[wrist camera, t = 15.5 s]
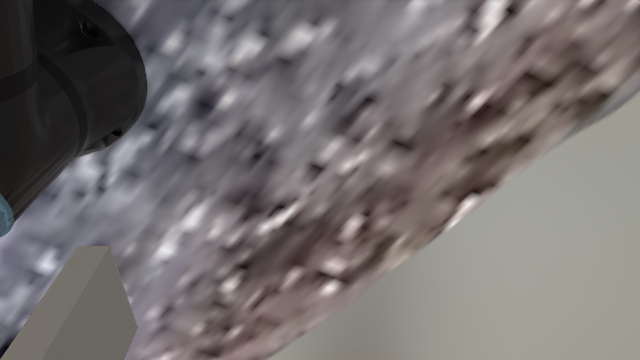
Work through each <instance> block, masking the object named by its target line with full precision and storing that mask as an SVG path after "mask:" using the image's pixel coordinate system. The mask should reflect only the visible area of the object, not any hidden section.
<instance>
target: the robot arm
mask: <svg viewBox="0 0 640 360" xmlns="http://www.w3.org/2000/svg"><path fill="white" fill-rule="evenodd" d="M146 91H147V84H146V75H145V70H144V66H143V63H142V60H141V57H140V55H139V53H138V50H137V48H136V47H135V45H134V43H133V41H132V40H131V38H130V37H129V35H128V34H127V33H126V31H125V30H124V29H123V28H122V26H121V25H120V24H119V23H118V22H117V21H116V20H115V19H114V18H113V17H112V16H111V15H110V14H108V13H107V12H106V11H105V10H103V9H102V8H101V7H99V6H98V5H96V4H95V3H93V2H92V1H90V0H0V237H2V236H4V235H6V234H7V233H8V232H9V231H10V230H11V228H12V226H13V225H14V224H13V223H14V222H15V221H16V220H17V219H18V218H19V217H20V216H21V215H22V213H23V212H24V211H25V210H26V209H27V208H28V207H29V206H30V205H31V204H32V203H33V202H34V201H35V200H36V198H37V197H38V196H39V195H40V194H41V193H42V192H43V191H44V190H45V189H46V188H47V187H48V186H49V185H50V184H51V183H52V182H53V181H54V180H55V179H56V177H57V176H58V175H59V174H60V173H61V172H62V171H63V170H64V169H65V168H66V167H67V166H68V165H69V164H70V163H71V162H72V161H73V159H75V158H78V157H81V156H84V155H87V154H90V153H92V152H95V151H98V150H101V149H104V148H106V147H108V146H110V145H112V144H113V143H115V142H116V141H118V140H119V139H120V138H122V137H123V136H124V135H125V134H126V133H127V131H128V130H129V129H130V128H131V127H132V126H133V125H134V123H135V122H136V121H137V119H138V118H139V116H140V114H141V112H142V110H143V107H144V104H145V99H146ZM137 328H138V327H137V324H136V321H135V318H134V315H133V312H132V309H131V306H130V303H129V300H128V298H127V295H126V292H125V289H124V286H123V283H122V280H121V277H120V274H119V271H118V268H117V265H116V263H115V260H114V257H113V254H112V251H111V248H110V246H78V247H77V249H76V250H75V251H74V253H73V254H72V256H71V257H70V259H69V260H68V262H67V263H66V265H65V266H64V268H63V269H62V270H61V272H60V273H59V275H58V276H57V278H56V279H55V281H54V282H53V284H52V285H51V287H50V288H49V290H48V291H47V292H46V294H45V295H44V297H43V298H42V300H41V301H40V303H39V304H38V306H37V307H36V309H35V310H34V311H33V313H32V314H31V316H30V317H29V319H28V320H27V322H26V323H25V325H24V326H23V328H22V329H21V330H20V332H19V333H18V335H17V336H16V338H15V339H14V341H13V342H12V344H11V345H10V347H9V348H8V349H7V351H6V352H5V354H4V355H3V357H2V358H1V360H124V358H125V356H126V353H127V351H128V349H129V347H130V344H131V342H132V340H133V337H134V335H135V333H136V330H137Z"/></svg>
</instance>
